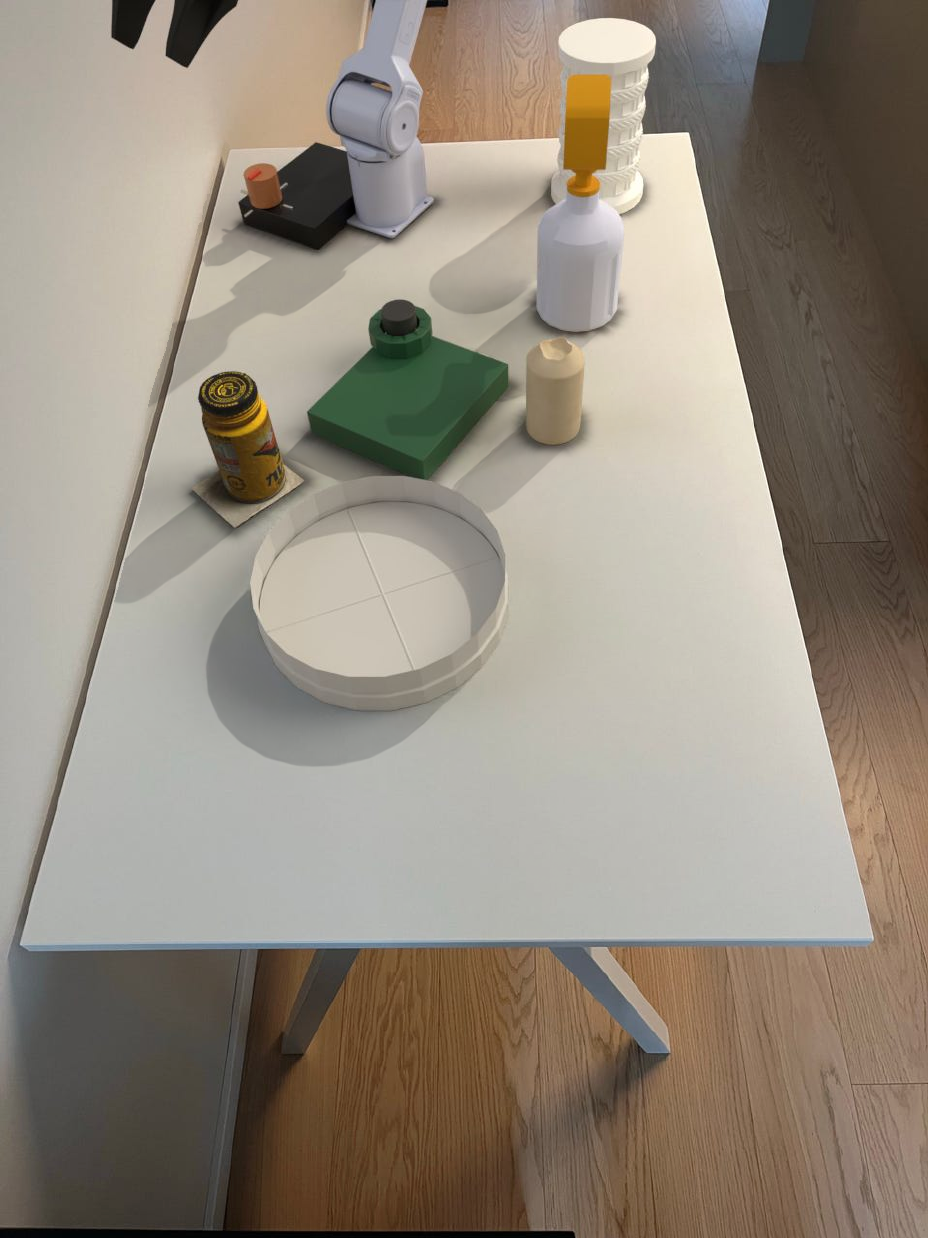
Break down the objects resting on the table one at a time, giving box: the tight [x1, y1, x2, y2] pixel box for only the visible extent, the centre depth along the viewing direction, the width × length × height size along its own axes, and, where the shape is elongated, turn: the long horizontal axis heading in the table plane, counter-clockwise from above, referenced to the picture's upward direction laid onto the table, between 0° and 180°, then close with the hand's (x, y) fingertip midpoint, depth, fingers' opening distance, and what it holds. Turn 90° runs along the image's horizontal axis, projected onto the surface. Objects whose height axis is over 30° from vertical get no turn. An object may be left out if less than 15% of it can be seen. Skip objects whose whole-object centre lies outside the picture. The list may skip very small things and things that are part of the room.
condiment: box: [191, 370, 305, 529], centre depth 89 cm, size 7×8×12 cm
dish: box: [249, 475, 509, 712], centre depth 82 cm, size 22×22×5 cm
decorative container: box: [550, 17, 657, 215], centre depth 113 cm, size 12×12×18 cm
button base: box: [306, 305, 510, 481], centre depth 97 cm, size 17×15×5 cm
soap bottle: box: [536, 75, 625, 333], centre depth 97 cm, size 9×9×25 cm
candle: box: [525, 336, 586, 446], centre depth 92 cm, size 6×6×10 cm
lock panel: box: [237, 141, 356, 251], centre depth 121 cm, size 18×13×3 cm
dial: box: [243, 162, 282, 209], centre depth 116 cm, size 4×4×4 cm
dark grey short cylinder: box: [380, 298, 417, 336], centre depth 99 cm, size 4×4×2 cm
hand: (148, 52), depth 84 cm, fingers open, 7 cm apart
